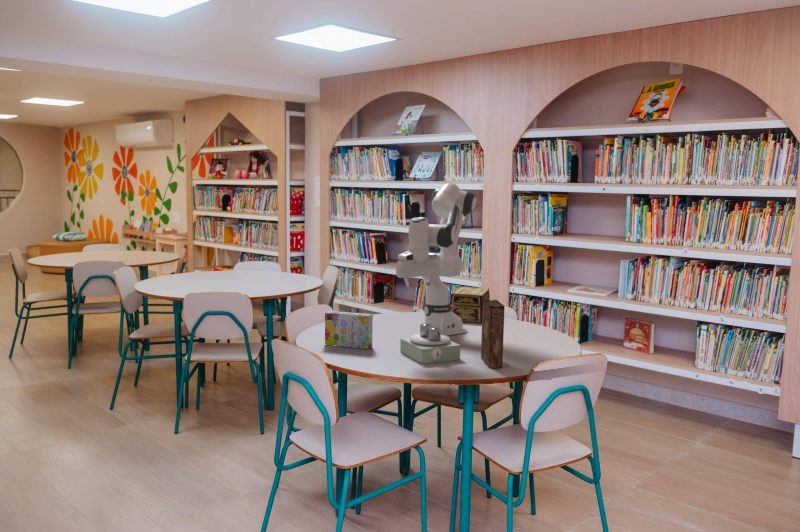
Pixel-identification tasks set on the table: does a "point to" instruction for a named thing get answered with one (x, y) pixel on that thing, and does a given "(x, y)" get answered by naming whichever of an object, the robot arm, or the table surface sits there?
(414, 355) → the scale
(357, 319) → the snack box
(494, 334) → the book
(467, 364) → the table surface
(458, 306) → the decorative box
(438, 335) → the spacer
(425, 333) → the cylinder
